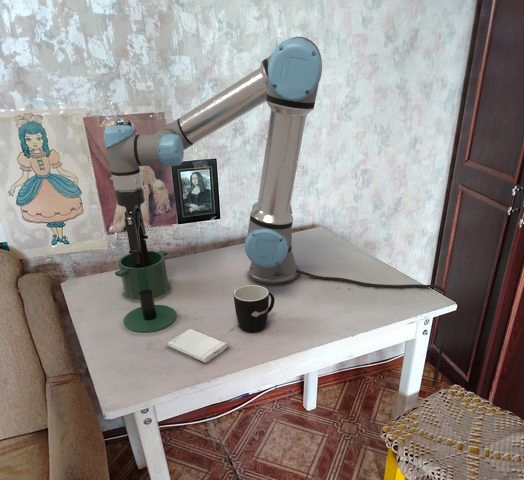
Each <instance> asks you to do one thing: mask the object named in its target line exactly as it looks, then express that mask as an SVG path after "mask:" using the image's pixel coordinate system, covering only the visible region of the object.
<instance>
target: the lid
mask: <svg viewBox="0 0 524 480" xmlns="http://www.w3.org/2000/svg"><path fill="white" fill-rule="evenodd" d="M139 298H140V300H139V302H140V306H139V307H137V308H134V309H132V310H130V311H129V312H128V313H127V314H126V315H125V316H124V318H123V325H124V327H125V328H126V329H127V330H129V331H131V332H133V333H134V332H135V333H142V334H143V333H145V334H146V333H155V332H159V331H162V330H165V329H167V328H168V327H170V326H172V325H173V324H174V323H175V321H176V320H177V311H176V310H175V309H174V308H173V307H171V306H168V305H164V304H155V298H153V292H152V291H151V290H142V291H140V292H139Z"/></svg>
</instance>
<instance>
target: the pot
mask: <svg viewBox="0 0 524 480" xmlns="http://www.w3.org/2000/svg"><path fill="white" fill-rule="evenodd" d="M148 256H149V261H144V264H145V267H142V268H135V265H134V260H133V255H132V253H128V254H125V255H123V256H122V257H120V259H119V260H118V268H119V270H117V271H115V272H114V274H115V275H114V276H117V277H120V278H121V282H122V286H123V291H124V295H125V296H126V297H127V298H129V299H131V300H133V301H140V298H139V292H140V291H142V290H151V291H152V292H153V298H154V299H156V298H160V297H162V296H164V295H166V293H167V292H168V291H169V287H170V285H169V280H168V273H167V266H166V262H165V261H166V260H165V257H166V256H168V251H165V250H159V251H156V250H148Z"/></svg>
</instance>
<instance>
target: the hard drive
mask: <svg viewBox="0 0 524 480" xmlns="http://www.w3.org/2000/svg"><path fill="white" fill-rule="evenodd" d="M167 344H168V347H170V348H172V349H174V350H177V351H178V352H181V353H184V354H186V355H188V356H191V357H192V358H194V359H196V360H198V361H200V362H201V363H205V364H206V363H208V362H209V361H211V360H212V359H214V358H215V357H217V356H218V355H220V354H221V353H222V352H224V351H226V350H227V348H228V343H227V342H224V341H222V340H219V339H216V338H214V337H212V336H209V335H207V334H205V333H202V332H199V331H196V330H194V329H192V328H189V329H187V330H186V331H184V332H182V333H181V334H179V335H177V336H175V338H173V339H171V340H170V341H169V342H168V343H167Z"/></svg>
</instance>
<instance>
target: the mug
mask: <svg viewBox="0 0 524 480" xmlns="http://www.w3.org/2000/svg"><path fill="white" fill-rule="evenodd" d="M275 301H276V300H275V297H274V294H273V293H272V292H270V291H269V290H268V289H267V288H266V287H264V286H262V285H258V284H247V285H243V286H240V287H238V288H236V289H235V290H234V291H233V303H234V310H235V315H236V319H237V321H238V322H237V323H238V325H239V328H240V329H241V330H242V331H243V332H245V333H250V334H253V333H254V334H255V333H259V332H262V331H263V330H264V329H265V328H266V325H267V323H268V317H269V314H270V312H271V311H272V310H273V308H274V306H275Z"/></svg>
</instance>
